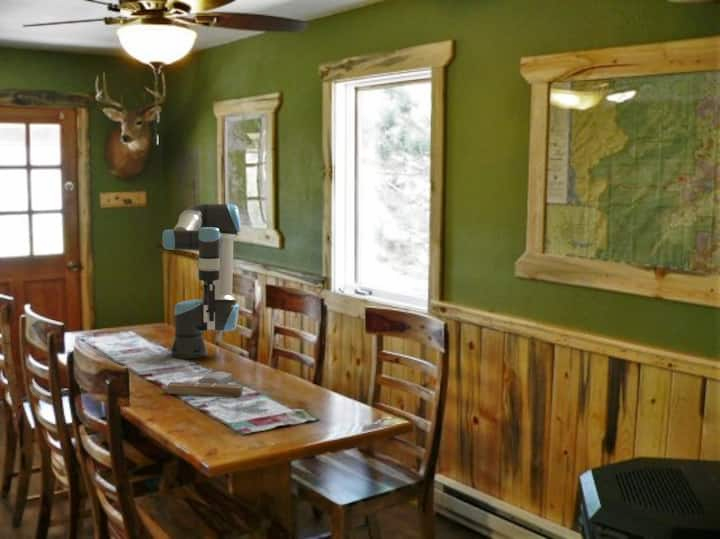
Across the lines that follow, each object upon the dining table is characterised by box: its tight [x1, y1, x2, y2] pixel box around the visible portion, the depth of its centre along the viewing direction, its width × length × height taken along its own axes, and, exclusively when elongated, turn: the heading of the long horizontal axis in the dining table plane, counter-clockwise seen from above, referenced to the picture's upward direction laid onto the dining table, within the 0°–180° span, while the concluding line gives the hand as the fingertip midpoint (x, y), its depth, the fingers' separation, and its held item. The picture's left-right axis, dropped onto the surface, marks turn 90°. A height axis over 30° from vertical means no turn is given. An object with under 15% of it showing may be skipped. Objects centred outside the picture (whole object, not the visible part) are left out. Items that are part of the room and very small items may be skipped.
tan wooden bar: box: [166, 381, 244, 397], centre depth 278 cm, size 4×26×3 cm, turn 88°
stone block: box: [198, 371, 233, 384], centre depth 291 cm, size 12×5×10 cm
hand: (209, 325), depth 292 cm, fingers open, 13 cm apart
